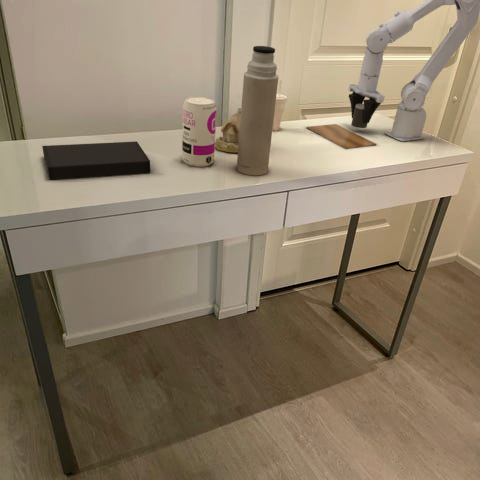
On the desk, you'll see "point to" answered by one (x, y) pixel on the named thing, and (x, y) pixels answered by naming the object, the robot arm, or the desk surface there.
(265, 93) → the thermos bottle
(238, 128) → the ceramic model
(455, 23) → the robot arm
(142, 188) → the desk surface
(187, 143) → the supplement can
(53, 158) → the external hard drive
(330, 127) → the brown wooden board
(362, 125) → the thermos cap
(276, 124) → the smoothie
